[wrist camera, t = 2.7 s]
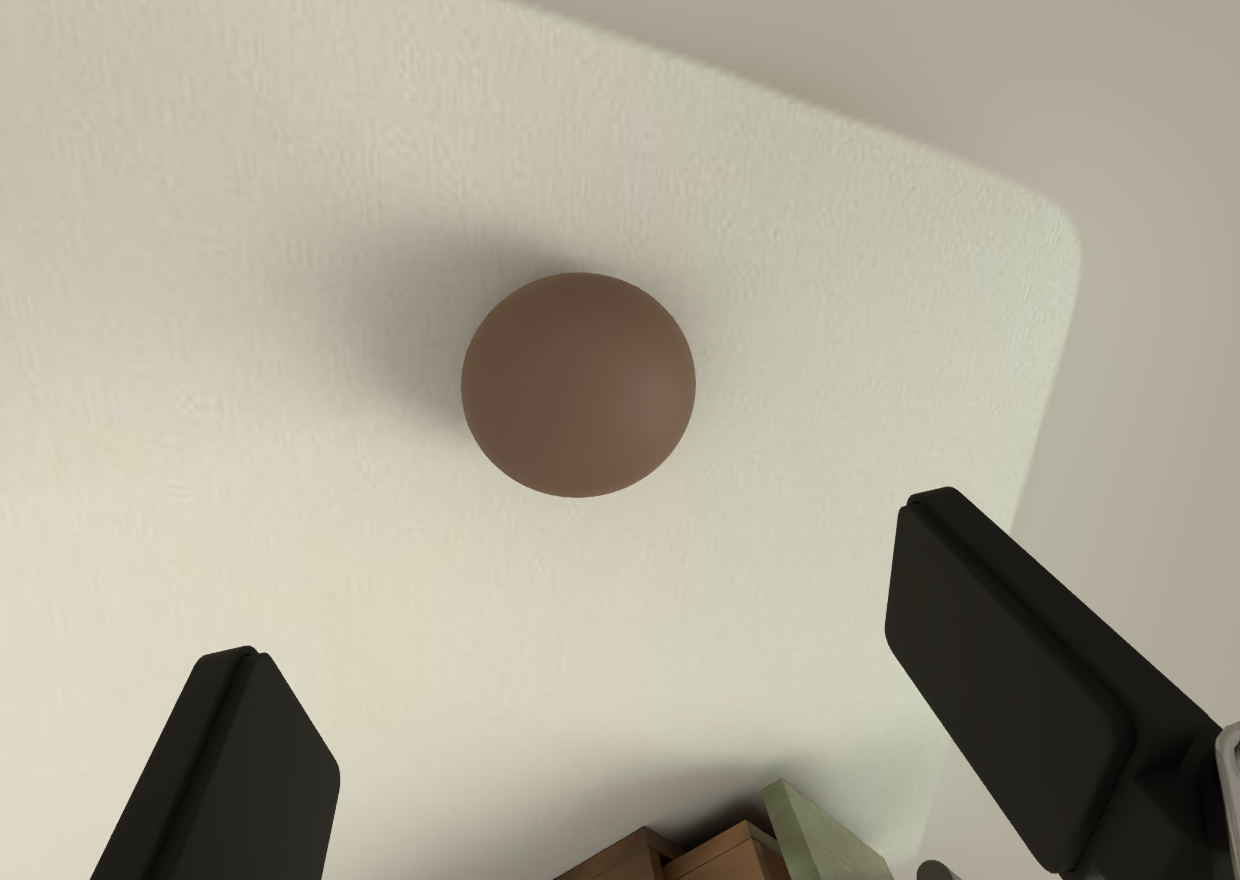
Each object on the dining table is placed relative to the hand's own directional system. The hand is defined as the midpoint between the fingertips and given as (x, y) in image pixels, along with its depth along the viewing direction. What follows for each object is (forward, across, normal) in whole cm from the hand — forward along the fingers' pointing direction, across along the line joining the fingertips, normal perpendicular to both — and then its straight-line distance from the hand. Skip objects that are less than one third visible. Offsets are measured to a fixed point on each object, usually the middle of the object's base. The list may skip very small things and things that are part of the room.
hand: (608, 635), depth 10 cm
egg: (+10, -1, 0) cm, 10 cm away
